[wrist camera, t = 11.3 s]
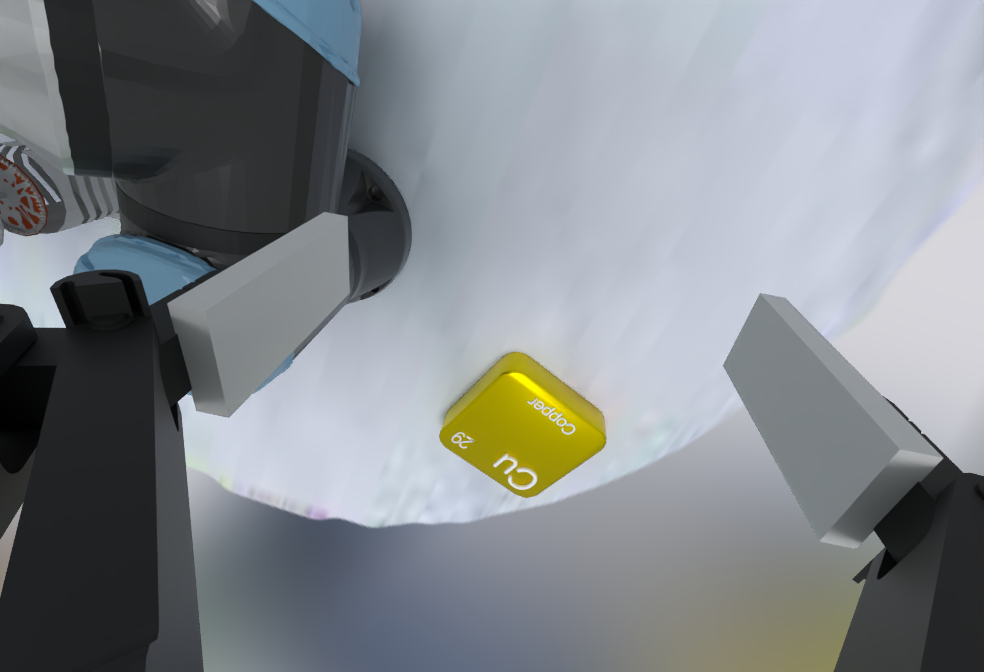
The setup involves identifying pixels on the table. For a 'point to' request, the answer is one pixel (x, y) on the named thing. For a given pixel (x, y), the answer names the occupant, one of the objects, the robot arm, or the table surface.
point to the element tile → (523, 426)
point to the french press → (49, 196)
